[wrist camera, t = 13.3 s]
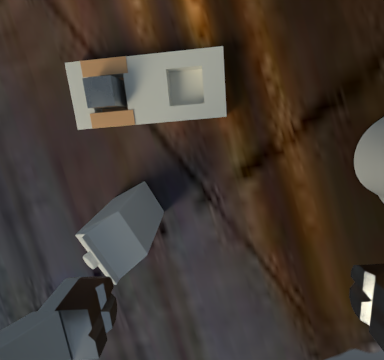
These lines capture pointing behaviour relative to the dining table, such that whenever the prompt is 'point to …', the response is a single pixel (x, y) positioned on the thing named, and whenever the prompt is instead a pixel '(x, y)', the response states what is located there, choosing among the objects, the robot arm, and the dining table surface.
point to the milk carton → (122, 232)
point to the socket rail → (154, 87)
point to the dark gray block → (105, 92)
